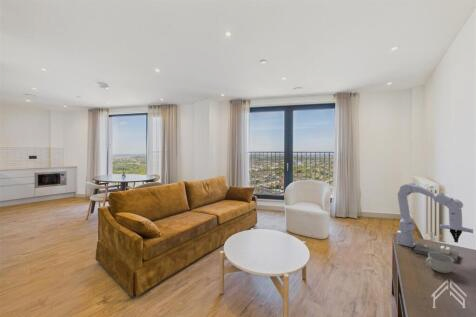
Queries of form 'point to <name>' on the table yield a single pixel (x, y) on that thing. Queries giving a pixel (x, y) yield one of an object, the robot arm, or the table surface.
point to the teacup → (440, 262)
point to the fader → (445, 250)
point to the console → (427, 249)
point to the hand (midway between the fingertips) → (456, 241)
